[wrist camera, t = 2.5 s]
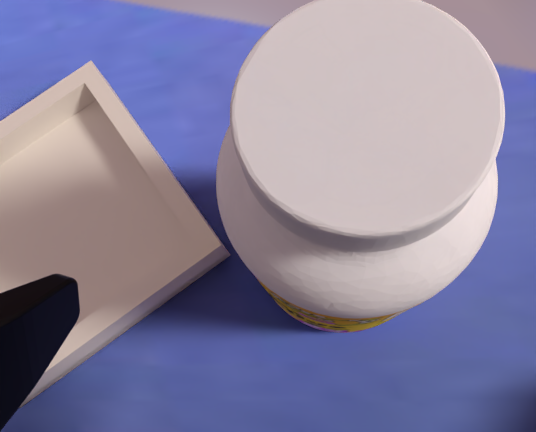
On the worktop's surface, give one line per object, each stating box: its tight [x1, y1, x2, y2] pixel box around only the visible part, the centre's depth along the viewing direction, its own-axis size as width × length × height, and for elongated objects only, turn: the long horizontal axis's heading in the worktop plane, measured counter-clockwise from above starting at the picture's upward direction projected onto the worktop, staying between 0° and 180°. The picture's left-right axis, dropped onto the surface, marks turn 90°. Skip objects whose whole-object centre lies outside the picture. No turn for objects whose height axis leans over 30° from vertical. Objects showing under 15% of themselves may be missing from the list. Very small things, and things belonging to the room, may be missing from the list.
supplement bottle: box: [216, 0, 505, 333], centre depth 15 cm, size 7×7×13 cm
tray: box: [0, 61, 230, 408], centre depth 21 cm, size 11×11×2 cm
